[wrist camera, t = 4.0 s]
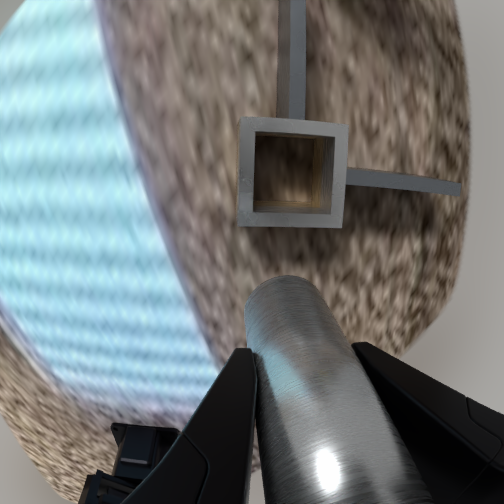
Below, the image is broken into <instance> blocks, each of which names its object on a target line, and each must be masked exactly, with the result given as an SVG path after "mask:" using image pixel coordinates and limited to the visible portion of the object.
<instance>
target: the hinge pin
mask: <svg viewBox="0 0 504 504" xmlns="http://www.w3.org/2000/svg"><path fill="white" fill-rule="evenodd" d="M244 318H245V328H246V337H247V347H248V348H251V349H252V351H253V357H254V362H255V367H256V373H257V394H256V410H255V420H256V429H257V437H258V446H259V454H260V463H261V471H262V479H263V488H264V496H265V504H435V503H434V501H433V499H432V497H431V495H430V493H429V491H428V489H427V487H426V485H425V483H424V481H423V479H422V477H421V475H420V473H419V471H418V469H417V467H416V465H415V463H414V461H413V459H412V457H411V455H410V453H409V451H408V449H407V447H406V446H405V444H404V442H403V440H402V438H401V436H400V434H399V432H398V430H397V428H396V427H395V425H394V423H393V421H392V419H391V417H390V415H389V413H388V412H387V410H386V408H385V406H384V404H383V402H382V401H381V399H380V397H379V395H378V393H377V391H376V390H375V388H374V386H373V384H372V382H371V381H370V379H369V377H368V375H367V373H366V372H365V370H364V368H363V366H362V364H361V363H360V361H359V359H358V357H357V356H356V354H355V352H354V350H353V349H352V347H351V345H350V343H349V342H348V340H347V338H346V336H345V335H344V333H343V331H342V329H341V328H340V326H339V324H338V322H337V321H336V319H335V317H334V316H333V314H332V312H331V310H330V309H329V307H328V305H327V304H326V302H325V300H324V299H323V297H322V295H321V294H320V292H319V290H318V289H317V288H316V286H315V285H313V284H312V283H311V282H309V281H308V280H306V279H304V278H301V277H298V276H290V275H285V276H278V277H274V278H271V279H269V280H267V281H265V282H263V283H262V284H260V285H259V286H258V287H257V288H256V289H255V290H254V291H253V292H252V293H251V294H250V296H249V298H248V300H247V302H246V305H245V310H244Z"/></svg>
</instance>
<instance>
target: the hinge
mask: <svg viewBox="0 0 504 504" xmlns="http://www.w3.org/2000/svg"><path fill="white" fill-rule="evenodd" d="M305 94H306V0H279V15H278V70H277V108H276V118H267V117H240V120H239V122H238V131H237V168H236V217H237V223H238V226H255V227H315V228H342V222H343V211H344V199H345V185H359V186H371V187H382V188H393V189H403V190H412V191H421V192H430V193H438V194H446V195H453V196H460V189H461V184H460V183H456V182H451V181H447V180H442V179H437V178H432V177H427V176H420V175H413V174H406V173H398V172H390V171H381V170H372V169H362V168H352V167H347V152H348V127H349V125H346V124H337V123H329V122H319V121H309V120H305ZM255 136H276V137H292V138H306V139H314V151H313V172H312V190H311V202H291V201H253V186H254V154H255Z"/></svg>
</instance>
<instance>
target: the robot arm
mask: <svg viewBox="0 0 504 504" xmlns="http://www.w3.org/2000/svg"><path fill="white" fill-rule="evenodd" d="M351 347H352V349H353V350H354V352H355V354H356V356H357V357H358V359H359V361H360V363H361V364H362V366H363V368H364V370H365V372H366V373H367V375H368V377H369V379H370V381H371V382H372V384H373V386H374V388H375V390H376V391H377V393H378V395H379V397H380V399H381V401H382V402H383V404H384V406H385V408H386V410H387V412H388V413H389V415H390V417H391V419H392V421H393V423H394V425H395V427H396V428H397V430H398V432H399V434H400V436H401V438H402V440H403V442H404V444H405V446H406V447H407V449H408V451H409V453H410V455H411V457H412V459H413V461H414V463H415V465H416V467H417V469H418V471H419V473H420V475H421V477H422V479H423V481H424V483H425V485H426V487H427V489H428V491H429V493H430V495H431V497H432V499H433V501H434V503H435V504H504V415H503V414H501V413H499V412H496V411H494V410H492V409H490V408H488V407H486V406H484V405H482V404H480V403H478V402H476V401H474V400H473V399H471V398H469V397H465V395H463V394H461V393H459V392H457V391H456V390H454V389H452V388H450V387H448V386H446V385H444V384H442V383H441V382H439V381H437V380H435V379H433V378H432V377H430V376H428V375H426V374H424V373H422V372H420V371H419V370H417V369H415V368H413V367H411V366H410V365H408V364H406V363H404V362H402V361H400V360H399V359H397V358H395V357H393V356H391V355H390V354H388V353H386V352H384V351H382V350H381V349H379V348H377V347H375V346H373V345H372V344H370V343H368V342H356V343H353V344H351ZM256 394H257V373H256V367H255V362H254V357H253V351H252V349H251V348H236V349H235V350H234V351H233V353H232V354H231V356H230V357H229V359H228V361H227V362H226V364H225V365H224V367H223V369H222V370H221V372H220V373H219V375H218V376H217V378H216V380H215V381H214V383H213V384H212V386H211V387H210V389H209V391H208V392H207V394H206V395H205V397H204V398H203V400H202V401H201V403H200V404H199V406H198V408H197V409H196V411H195V412H194V414H193V415H192V417H191V418H190V420H189V421H188V423H187V424H186V426H185V427H184V429H183V430H182V432H181V434H180V435H179V432H178V430H177V429H174V428H162V427H149V426H139V425H129V424H121V423H112V424H111V431H112V433H113V436H114V438H115V441H116V443H117V445H118V452H117V456H116V459H115V463H114V467H113V471H112V475H109V474H106V473H104V472H103V471H101V470H98V469H97V472H96V475H95V474H94V475H87V478H86V481H85V485H84V488H83V491H82V494H81V496H80V499H79V502H78V504H248V501H249V490H250V478H251V466H252V454H253V442H254V427H255V410H256Z"/></svg>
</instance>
